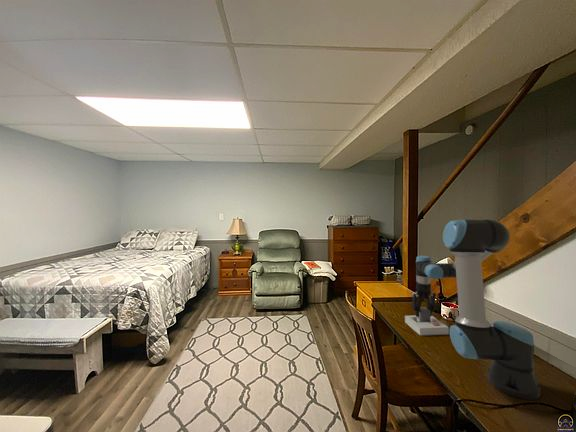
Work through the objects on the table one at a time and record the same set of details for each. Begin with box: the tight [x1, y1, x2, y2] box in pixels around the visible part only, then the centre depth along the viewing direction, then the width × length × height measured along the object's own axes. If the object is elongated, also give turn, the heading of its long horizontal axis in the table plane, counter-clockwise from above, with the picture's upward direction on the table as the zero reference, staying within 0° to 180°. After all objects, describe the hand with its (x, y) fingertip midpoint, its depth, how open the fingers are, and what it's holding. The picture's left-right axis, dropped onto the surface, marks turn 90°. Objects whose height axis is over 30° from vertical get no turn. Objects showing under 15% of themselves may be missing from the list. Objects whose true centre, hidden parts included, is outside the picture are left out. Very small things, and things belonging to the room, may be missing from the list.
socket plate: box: [404, 314, 450, 336], centre depth 143 cm, size 16×16×5 cm
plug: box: [420, 306, 430, 323], centre depth 145 cm, size 5×5×8 cm
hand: (423, 321), depth 145 cm, fingers closed on plug, 5 cm apart
